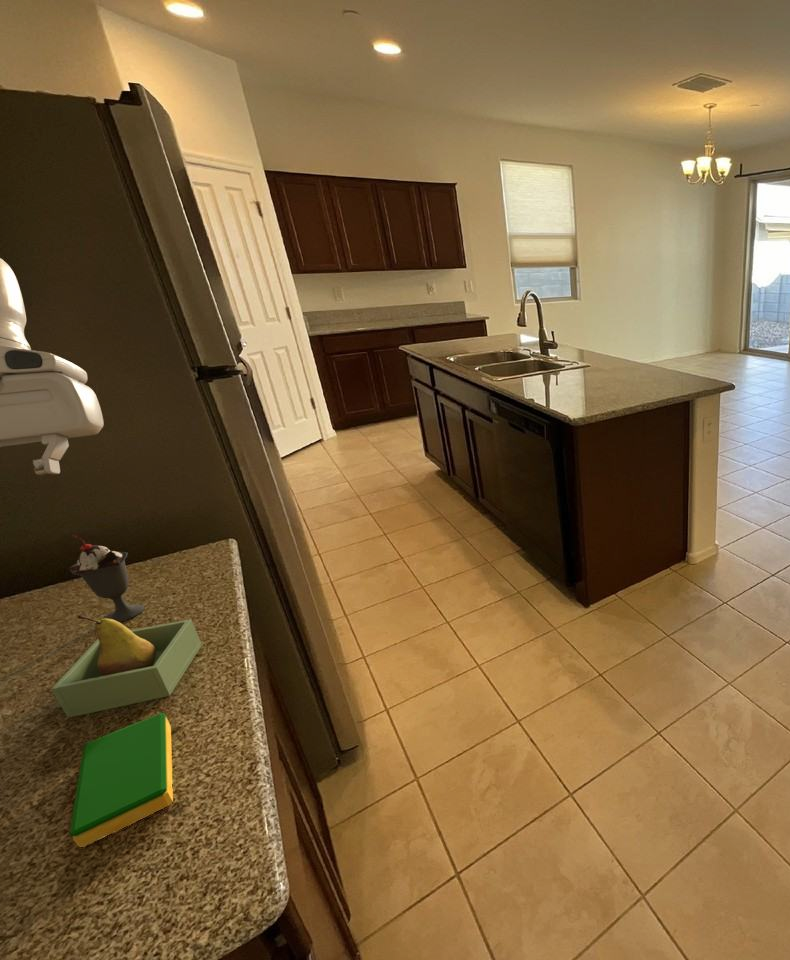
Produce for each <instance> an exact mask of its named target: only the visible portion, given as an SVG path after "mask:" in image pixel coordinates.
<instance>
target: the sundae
mask: <svg viewBox="0 0 790 960" xmlns="http://www.w3.org/2000/svg"><path fill="white" fill-rule="evenodd" d="M70 536H71V538H74V539H78V540H80V541H81V542H82V544H83V545H81V547H79V550H80V552H81V553H80V554H79V556H78V557H77V561H76V563H75V564H73V565H72V566H70V567H69V568H68V571H69V572H70V573H72V575H74V576H80V578H82V580H83V581H84V582H85V583H86V585H87V586H88V587H89V589H90V590H91V591H92V592H93V593H94V594H95V595H96V597H98V598H102V599H109V600H111V601H113V603H114V607H115V609H114V610H113V611H111V612H109V613H108V614H107V615H106V616H105V617H104V619H105V618H106V619H113V620H115V621H117V622H119V623H122V622H126V621H128V620H131V619H133V618H135V617H136V616H139V615H140V614H141V613H142V612H144V610H145V605H144V604H141V603H134V604H127V602H125V600H124V597H123V595H124V594H125V592H126V591H127V590H128V589H129V587H130V580H129V574H128V570H127V566H126V562H125V561H126V558H127V557H128V554H129V553H128V552H126V551H115V550H110V549H109V548H108V547H107V546H103V545H100V544H99V545H98V544H90V543H86V542H85V540H83V539H82V538H81V537H79V536H77V535H76V534H71V535H70Z"/></svg>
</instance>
